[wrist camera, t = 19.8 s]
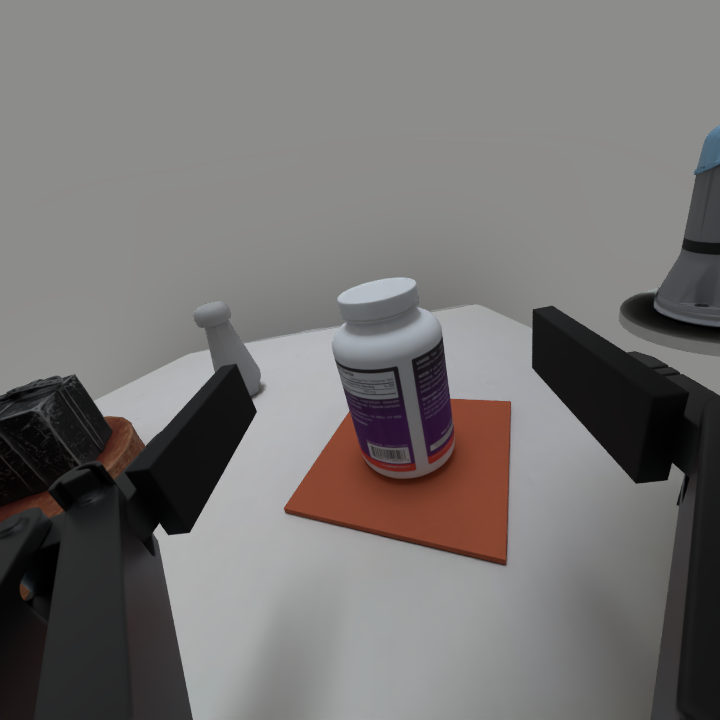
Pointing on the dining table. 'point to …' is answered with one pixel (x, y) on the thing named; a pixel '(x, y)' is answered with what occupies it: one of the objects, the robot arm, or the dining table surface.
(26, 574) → the robot arm
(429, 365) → the pill bottle
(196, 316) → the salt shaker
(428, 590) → the dining table surface
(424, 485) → the terracotta mat
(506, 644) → the dining table surface
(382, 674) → the dining table surface
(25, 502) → the decorative object
